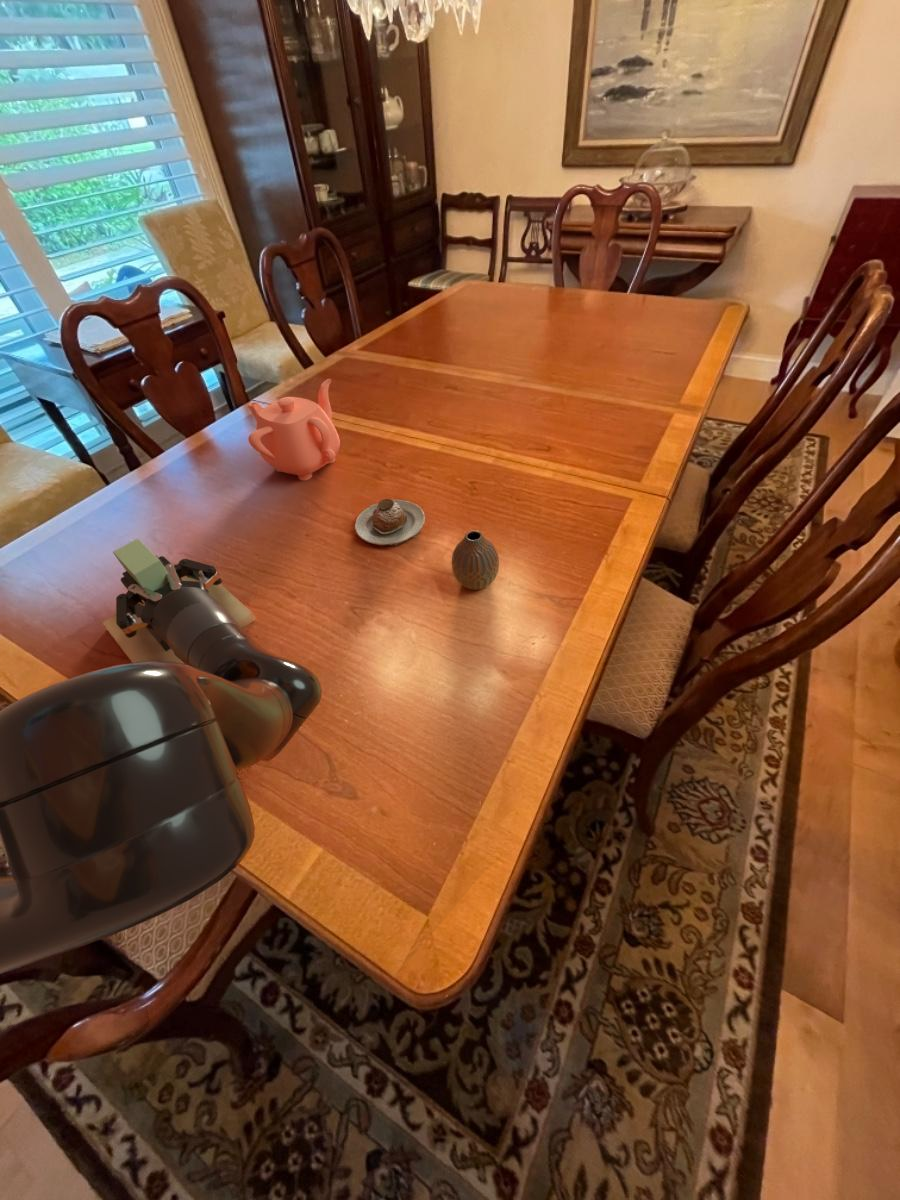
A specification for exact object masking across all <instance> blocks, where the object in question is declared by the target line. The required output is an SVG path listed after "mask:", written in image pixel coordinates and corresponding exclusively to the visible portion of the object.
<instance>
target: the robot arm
mask: <svg viewBox="0 0 900 1200" xmlns="http://www.w3.org/2000/svg"><path fill="white" fill-rule="evenodd" d="M154 555H155V556H156V557H157V558H158V559H159V560H160V561H161V563H162V564H163V566H164V567H165V569H166V571H167V572H168V574H167V575H166V576H167V578H168V581H169V582H168V583H167V584H165V585H164V586H163V587H162V588H159V589H157V590H155V591H152V590H150V589H148V588H146V587H144V588H142V587H141V586H139V584H138V583H137V582H136V581H135V580H134V578H133V577H132V576H131V575H130V574H129V573H128V572H127V571H126V570H125V571H124V572H122V573H121V574H122V577H121V578H120V582H121V583H122V585H123V586H124V588H125V589H126V590H127V591H126V593H119V594H118V595H117V596H116V597H115V598H116V600H115V607H116V608H115V615H116V624H117V625H118V626H119V628H120V629H121V630H122V632H123V633H124V634H125V635H126V636H127V637H128V638H131V637H133V636H135V635H136V633H137V630H138V629H141V628H144V627H147V628H148V629H152V630H155V631H156V632H157V633H158V634H159V635H160V637H161V638H162V639H163V640H164V641H165V642H166V643H167V645H168V646H169V647H170V648H171V649H172V651H173V652H174V654H175V655H176V656H177V657H178V658H179V659H180V660H181V661H182V662H183V663H185V664H182V663H178V662H168V661H143V662H134V663H132V662H130V663H129V662H128V663H123V664H116V665H113V666H107V667H103V668H100V669H95V670H92V671H90V672H85V673H83V674H79V675H77V676H73V677H71V678H68V679H65V680H63V681H60V682H57V683H54V684H51V685H48V686H46V687H44V688H41V689H39V690H37V691H34V692H32V693H30V694H28V695H26V696H24V697H22V698H20V699H18V700H16V701H13V702H12V703H10V704H9V705H7V706H6V707H4V708H3V709H1V710H0V845H1V848H2V851H3V854H4V856H5V860H6V861H7V862H6V863H7V865H8V868H9V870H10V875H6V876H0V975H1V974H4V973H8V972H11V971H13V970H16V969H19V968H22V967H26V966H28V965H31V964H34V963H36V962H37V963H38V962H40V961H43V960H46V959H50V958H53V957H56V956H58V955H61V954H64V953H67V952H70V951H72V950H76V949H78V948H81V947H84V946H86V945H89V944H92V943H94V942H97V941H101V940H103V939H106V938H108V937H112V936H114V935H116V934H119V933H121V932H124V931H126V930H128V929H131V928H134V927H135V926H138V925H140V924H143V923H145V922H148V921H150V920H152V919H155V918H157V917H158V916H160V915H163V914H165V913H167V912H168V911H170V910H173V909H174V908H176V907H179V906H180V905H182V904H184V903H186V902H189V901H190V900H192V899H194V898H195V897H197V896H198V895H200V894H202V893H203V892H204V891H206V890H208V889H209V888H211V887H213V886H214V885H215V884H217V883H218V882H220V881H222V879H225V877H226V876H227V875H229V874H230V873H231V872H232V871H233V870H234V869H235V868H236V867H237V866H239V865H240V863H241V862H243V860H244V859H245V857H246V856H247V855H248V853H249V852H250V850H251V848H252V846H253V843H254V839H255V832H256V827H255V822H254V817H253V813H252V809H251V806H250V803H249V800H248V797H247V795H246V792H245V791H246V790H245V788H244V786H243V782H242V780H241V777H239V772H238V771H240V770H244V769H247V768H250V767H252V766H254V765H256V764H258V763H259V762H261V761H262V762H267V761H272V760H273V759H274V758H276V757H277V756H278V755H279V754H280V753H281V752H282V750H284V748H285V747H286V746H287V745H288V744H289V742H290V741H291V740H292V739H293V737H294V736H295V735H296V733H297V732H298V731H299V730H300V728H301V727H302V726H303V724H304V723H305V722H306V721H307V719H308V718H309V717H310V716H311V715H312V713H313V712H314V711H315V710H316V708H317V707H318V706H319V704H320V702H321V700H322V699H321V698H322V692H323V691H322V686H321V682H320V681H319V679H318V677H317V675H316V674H315V673H314V672H313V671H311V669H309V668H307V666H304V665H303V664H302V663H299V662H298V661H297V662H296V661H295V660H292V659H289V658H286V657H284V656H281V655H278V654H276V653H274V652H272V651H269V650H267V648H264V647H263V646H262V645H260V644H259V643H257V642H256V641H255V639H253V638H252V637H251V636H250V635H249V634H248V633H247V632H246V631H245V630H244V628H241V627H240V626H239V624H238V623H237V621H236V620H235V619H234V618H233V617H232V616H231V615H230V614H229V613H228V612H227V611H226V610H225V609H224V608H223V607H222V606H221V605H220V604H219V603H218V602H217V601H216V600H215V599H214V598H213V597H212V596H211V595H209V591H208V588H209V587H210V586H211V585H212V584H213V585H219V584H221V585H222V583H223V579H222V577H221V576H220V574H219V573H218V570H217V569H216V567H215V566H214V565H210V564H207V563H203V562H200V561H196V560H192V559H188V558H182V559H181V560H179V562H178V563H177V564H173V563H171V562H170V561H169V560H168V559H167V558H166V557H165V556H162V555H160V556H159V557H158V556H157V555H156V554H154ZM184 576H187V577H188V578H192V579H195V580H199V581H182V578H181V577H184ZM200 581H201V582H200ZM138 603H139V604H141V605H143V606H144V608H143V612H142V615H141V618H138V617H137V616H136V607H135V605H136V604H138Z"/></svg>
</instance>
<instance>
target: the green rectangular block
mask: <svg viewBox="0 0 900 1200" xmlns="http://www.w3.org/2000/svg"><path fill="white" fill-rule="evenodd" d="M112 553H113V555H114V556H115V558H116V559H117V561H118V562H119V563H120V564H121V566H122V567H123V568H124V570H125V572H126V571H127V572H128V573H129V574H130V575H131V576H132V577H133V578H134V580H135V581H136V582H137V583H138V584H139V586H141V587H142V588H144V587H146V588H148V589H150V590H152V591H155V590H157V589H159V588H162V587H163V586H164V585H165V584H167V583H168V582H169V581H168V578H167V576H166V575H167V574H168V572H167V571H166V569H165V567H164V566H163V564H162V563H161V561H160V560H159V559H158V558H159V557H158V556H157V555H156V554H154V552H153V551H151V550H150V549H149V548H148V547H147V546H146V545H145V544H144V543H143V541H141V540H140V539H139V538H136V539H134V540H132V541H131V542H128V543H126V544H125V545H123V546H120V547H119V548H117V549H115V550H113V551H112ZM155 555H156V556H157V557H158V558H157V557H156V556H155Z"/></svg>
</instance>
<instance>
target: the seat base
mask: <svg viewBox="0 0 900 1200" xmlns="http://www.w3.org/2000/svg"><path fill="white" fill-rule="evenodd" d="M181 578H182V581H199V580H195V579H192V578H188V577H187V576H184V577H181ZM200 582H201V581H200ZM208 591H209V595H211V596H212V597H213V598H214V599H215V600H216V601H217V602H218V603H219V604H220V605H221V606H222V607H223V608H224V609H225V610H226V611H227V612H228V613H229V614H230V615H231V616H232V617H233V618H234V619H235V620H236V621H237V623H238V624H239V626H240V627H241V628H242V629H244V628H246V627H247V626H249V625H250V624H252V623H253V622H255V621H256V617H255V615H254V613H253V612H252V611H251V610H250V609H248V607H247V606H245V604H243V603H242V602H241V601H240V600H239V599H238V598H237V597H235V596H234V594H233V593H231V592H230V591H229V590H228V589H227V588H226V587H225V586H224V585H222V583H221V584H219V585H213V584H212V585H211V586H210V587H209V588H208ZM135 607H136V616H137V617H138V618H141V615H142V612H143V608H144V606H143V605H141V604H139V603H138V604H136V605H135ZM101 624H102V625H103V627H104V628H105V629H106V630H107V631H108V633H109V634H110V635H111V637H112V639H114V641H115V642H116V643H117V645H118V646H119V647H120V649H121V650H122V652H123V653H124V654H125V655H126V656H127V658H128V659H129V660H130V663H134V662H143V661H168V662H178V663H182V664H185V663H183V662H182V661H181V660H180V659H179V658H178V657H177V656H176V655H175V654H174V652H173V651H172V649H171V648H170V647H169V646H168V645H167V643H166V642H165V641H164V640H163V639H162V638H161V637H160V635H159V634H158V633H157V632H156V631H155V630H152V629H148V628H147V627H144V628H141V629H138V630H137V633H136V635H135V636H133V637H131V638H128V637H127V636H126V635H125V634H124V633H123V632H122V630H121V629H120V628H119V626H118V625H117V624H116V614H114V615H113V616H111V617H109V618H106V620H103V621H102V622H101Z"/></svg>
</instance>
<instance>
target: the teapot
mask: <svg viewBox="0 0 900 1200" xmlns="http://www.w3.org/2000/svg"><path fill="white" fill-rule="evenodd" d="M331 383H332V378H327V379H325V380H324V381H323V382H322V383H321V385H320V386H319V389H318V398H317V403H316V402H315V401H312V400H310V399H308V398H304V397H297V396H285V397H281V398H280V399H278V400H275V401H274V402H272V403H270V404H269V405H267V406H265V407H263V406H261V405H260V404H259V402H254V401H252V402H250V403H249V404H247V407H248V409H249V410H250V413H251V415H252V416H253V418H254V420H255V421H256V427H255V428H256V429H255V430H254V431H252V432H251V433H250V434H249V436H248V444H250V446H251V447H252V448H253V450H255V451H256V452H258V453H259V454H260V456H261V458H262V459H263V460H264V462H266V463H267V464H269V466H271V467H272V468H274V469H275V471H276V472H278V473H280V472H283V473H285V474H290V475H297V477H298V479H299V480H300V481H308V480H310V479H311V478H312V477H313V473H314V472H316V471H318V470H320V469H321V468H323V467H324V466H326V465H327V464H328V465H329V464H332V463H334V462H335V461H336V456H337V455H338V453H339V450H340V446H341V440H340V436H339V433H338V431H337V428H336V427H335V425H334V423H333V422H332V419H333V410H332V406H331V404H330V398H329V388H330V386H331Z"/></svg>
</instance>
